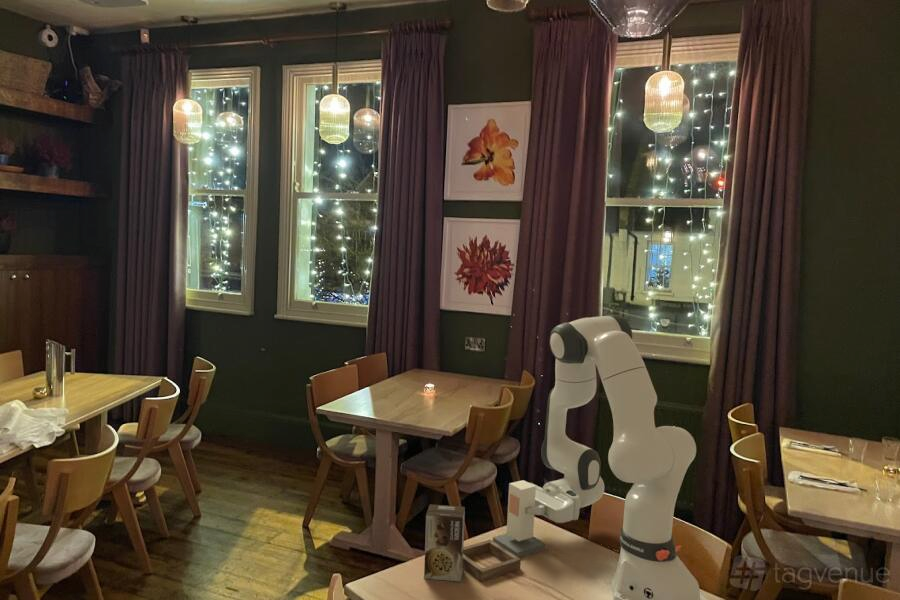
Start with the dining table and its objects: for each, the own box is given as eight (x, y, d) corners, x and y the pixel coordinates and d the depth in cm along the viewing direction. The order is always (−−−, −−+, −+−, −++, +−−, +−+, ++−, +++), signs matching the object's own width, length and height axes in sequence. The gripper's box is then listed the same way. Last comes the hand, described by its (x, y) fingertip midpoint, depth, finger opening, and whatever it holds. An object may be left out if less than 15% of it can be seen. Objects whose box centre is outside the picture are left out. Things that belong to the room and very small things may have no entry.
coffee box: (462, 569, 162) (466, 506, 160) (460, 582, 156) (464, 517, 154) (426, 565, 163) (429, 503, 161) (422, 578, 157) (425, 513, 155)
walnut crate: (520, 568, 164) (520, 559, 163) (481, 581, 156) (482, 571, 156) (489, 548, 173) (490, 539, 173) (452, 559, 166) (452, 550, 166)
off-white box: (532, 537, 175) (535, 486, 174) (518, 541, 172) (521, 489, 171) (520, 529, 179) (523, 480, 178) (505, 534, 176) (508, 483, 175)
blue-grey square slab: (545, 549, 175) (545, 543, 175) (516, 558, 169) (517, 552, 169) (520, 534, 183) (520, 529, 183) (492, 542, 177) (492, 537, 177)
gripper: (531, 474, 190) (494, 482, 182) (584, 499, 174) (545, 509, 166) (530, 495, 191) (493, 504, 183) (582, 521, 174) (544, 533, 166)
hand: (518, 507), depth 174 cm, fingers closed on off-white box, 5 cm apart
